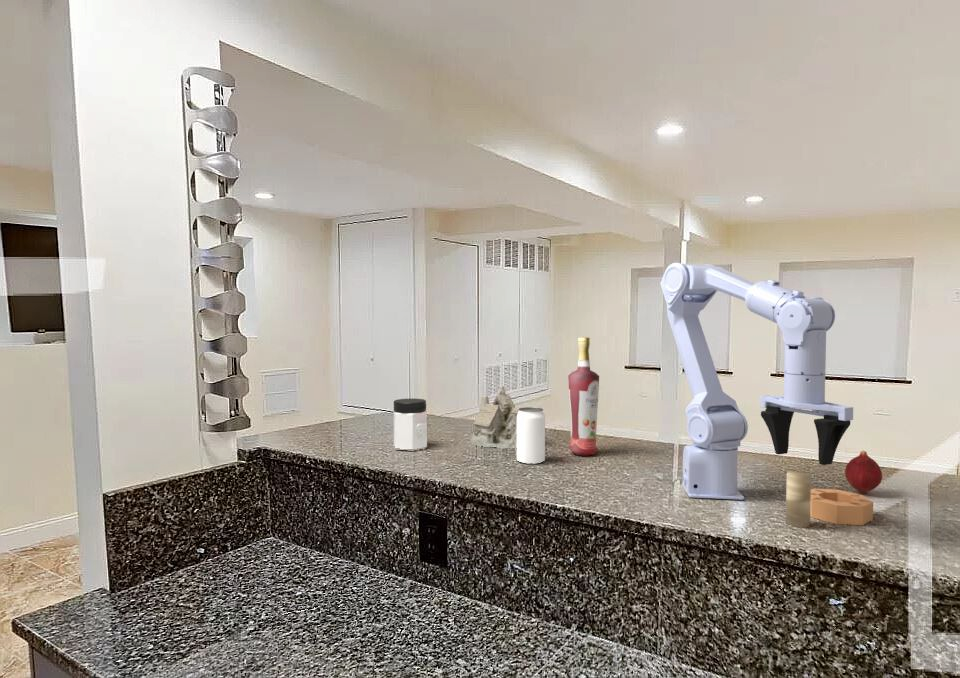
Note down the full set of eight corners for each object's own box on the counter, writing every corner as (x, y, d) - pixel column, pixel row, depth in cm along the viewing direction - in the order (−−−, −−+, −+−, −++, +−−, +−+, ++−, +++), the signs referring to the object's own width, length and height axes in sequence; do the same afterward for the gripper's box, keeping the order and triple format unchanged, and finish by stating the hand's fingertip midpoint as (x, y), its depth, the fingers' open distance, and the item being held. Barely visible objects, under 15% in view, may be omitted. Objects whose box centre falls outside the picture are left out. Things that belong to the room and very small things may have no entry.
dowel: (790, 527, 92) (791, 476, 92) (782, 519, 96) (783, 471, 95) (813, 528, 92) (814, 477, 91) (805, 520, 95) (805, 472, 95)
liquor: (584, 459, 136) (585, 338, 135) (561, 453, 142) (562, 337, 141) (605, 454, 141) (606, 337, 140) (581, 449, 146) (582, 336, 145)
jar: (405, 453, 142) (405, 404, 142) (386, 448, 148) (385, 400, 147) (434, 447, 148) (434, 400, 148) (414, 442, 154) (414, 397, 154)
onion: (887, 499, 106) (888, 455, 106) (852, 497, 107) (853, 454, 107) (872, 490, 112) (874, 448, 112) (839, 488, 113) (840, 447, 113)
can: (512, 463, 133) (512, 410, 132) (521, 456, 139) (521, 406, 138) (540, 466, 130) (540, 412, 130) (548, 459, 136) (548, 407, 136)
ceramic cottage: (461, 442, 154) (465, 385, 153) (509, 436, 164) (513, 383, 163) (498, 457, 142) (502, 395, 141) (548, 450, 152) (552, 393, 151)
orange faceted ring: (818, 523, 94) (818, 504, 94) (796, 504, 103) (797, 487, 103) (881, 526, 93) (881, 507, 92) (853, 507, 102) (854, 490, 102)
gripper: (866, 376, 88) (864, 466, 89) (780, 368, 101) (779, 447, 102) (836, 378, 85) (834, 471, 86) (752, 370, 98) (750, 451, 99)
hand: (802, 458), depth 94 cm, fingers open, 7 cm apart
